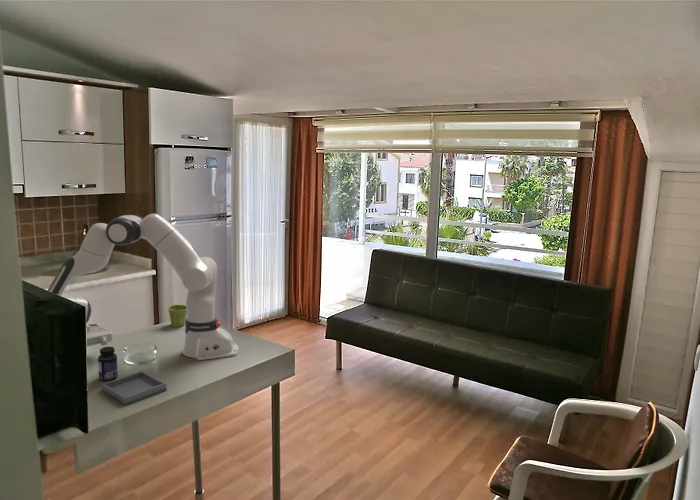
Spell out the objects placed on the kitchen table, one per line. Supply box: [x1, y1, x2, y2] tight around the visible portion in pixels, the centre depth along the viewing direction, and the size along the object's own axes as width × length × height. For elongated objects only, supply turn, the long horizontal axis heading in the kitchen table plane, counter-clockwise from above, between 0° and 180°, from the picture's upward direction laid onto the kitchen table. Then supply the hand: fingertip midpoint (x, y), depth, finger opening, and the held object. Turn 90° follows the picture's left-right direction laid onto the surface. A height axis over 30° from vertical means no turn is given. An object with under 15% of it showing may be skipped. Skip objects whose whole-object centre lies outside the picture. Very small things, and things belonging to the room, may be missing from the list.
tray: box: [101, 370, 167, 406], centre depth 175 cm, size 15×15×2 cm
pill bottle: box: [97, 346, 119, 382], centre depth 183 cm, size 6×6×11 cm
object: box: [167, 304, 186, 328], centre depth 241 cm, size 9×9×9 cm
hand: (92, 346), depth 190 cm, fingers open, 8 cm apart
